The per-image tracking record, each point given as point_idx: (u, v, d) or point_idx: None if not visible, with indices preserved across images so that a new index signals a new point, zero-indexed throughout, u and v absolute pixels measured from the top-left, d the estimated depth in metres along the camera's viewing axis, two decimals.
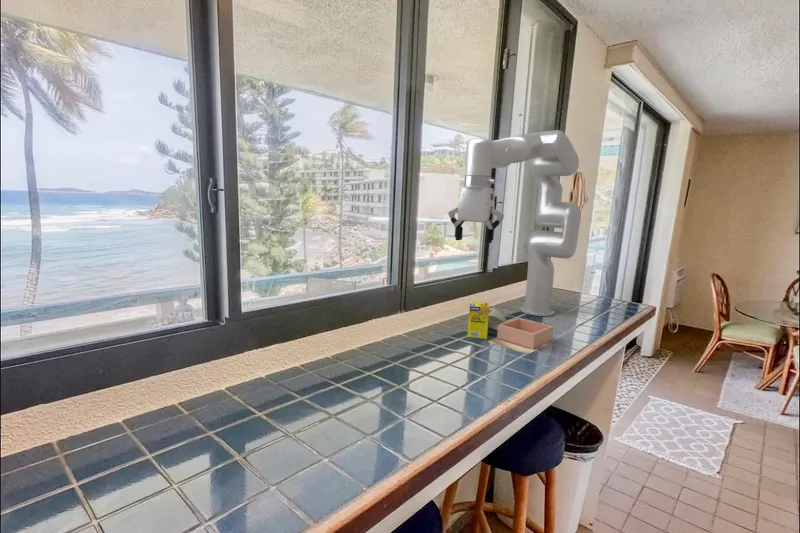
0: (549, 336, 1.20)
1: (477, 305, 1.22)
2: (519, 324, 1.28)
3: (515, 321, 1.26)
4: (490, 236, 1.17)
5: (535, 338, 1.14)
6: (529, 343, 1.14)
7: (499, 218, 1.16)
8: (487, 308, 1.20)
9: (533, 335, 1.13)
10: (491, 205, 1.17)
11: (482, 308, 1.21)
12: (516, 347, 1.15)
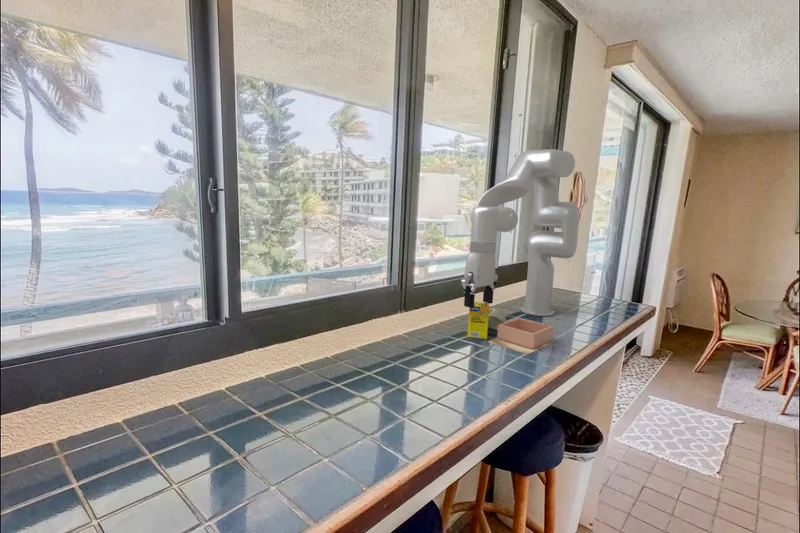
0: (549, 336, 1.20)
1: (477, 305, 1.22)
2: (519, 324, 1.28)
3: (515, 321, 1.26)
4: None
5: (535, 338, 1.14)
6: (529, 343, 1.14)
7: (496, 279, 1.27)
8: (487, 308, 1.20)
9: (533, 335, 1.13)
10: None
11: (482, 308, 1.21)
12: (516, 347, 1.15)
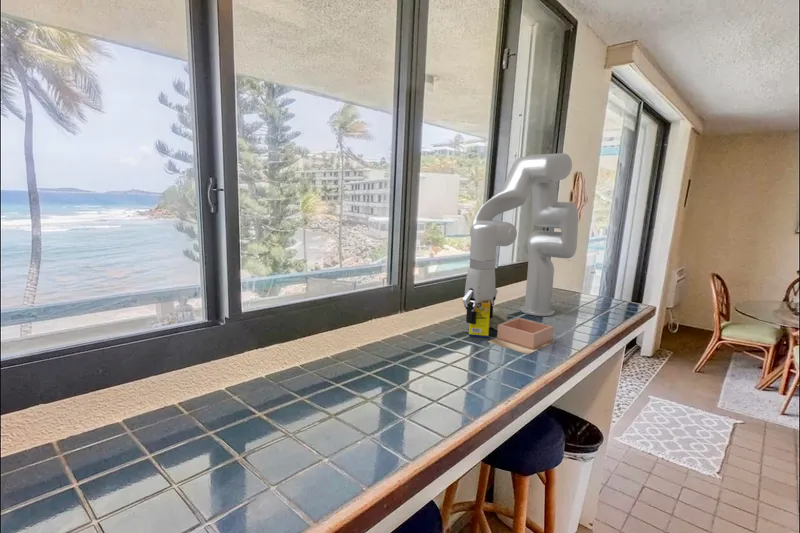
0: (549, 336, 1.20)
1: None
2: (519, 324, 1.28)
3: (515, 321, 1.26)
4: None
5: (535, 338, 1.14)
6: (529, 343, 1.14)
7: (495, 294, 1.28)
8: (488, 304, 1.21)
9: (533, 335, 1.13)
10: None
11: (483, 304, 1.21)
12: (516, 347, 1.15)
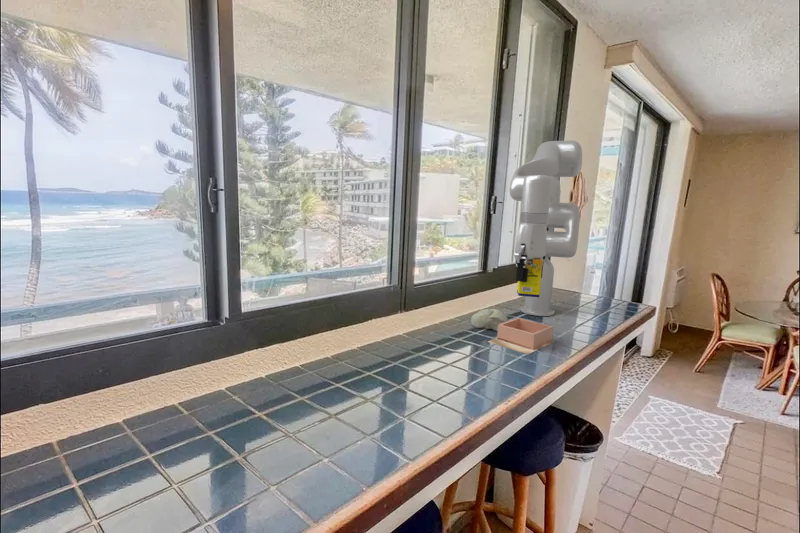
0: (549, 336, 1.20)
1: None
2: (519, 324, 1.28)
3: (515, 321, 1.26)
4: None
5: (535, 338, 1.14)
6: (529, 343, 1.14)
7: (545, 253, 1.22)
8: (540, 261, 1.14)
9: (533, 335, 1.13)
10: None
11: (535, 261, 1.15)
12: (516, 347, 1.15)
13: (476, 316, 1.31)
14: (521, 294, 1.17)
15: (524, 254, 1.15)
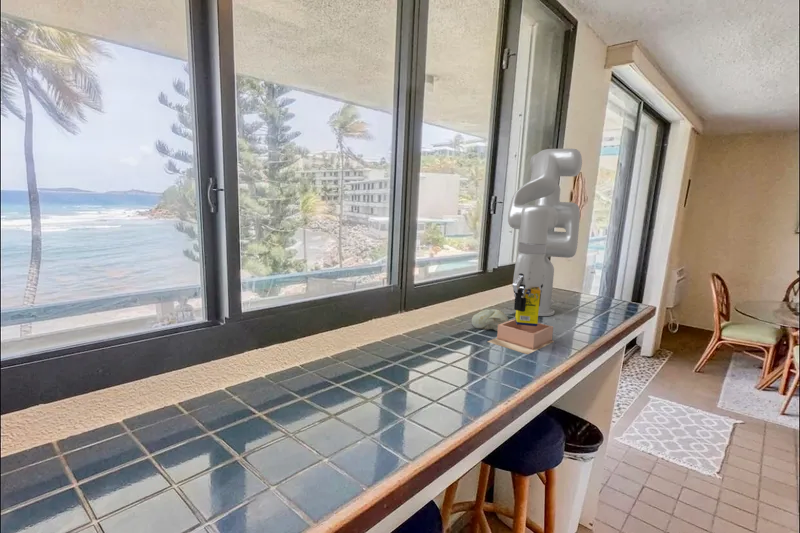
0: (549, 336, 1.20)
1: None
2: None
3: (515, 321, 1.26)
4: None
5: (535, 338, 1.14)
6: (529, 343, 1.14)
7: (542, 281, 1.23)
8: (538, 291, 1.16)
9: (533, 335, 1.13)
10: None
11: (533, 291, 1.16)
12: (516, 347, 1.15)
13: (477, 316, 1.30)
14: (519, 323, 1.18)
15: (522, 284, 1.17)
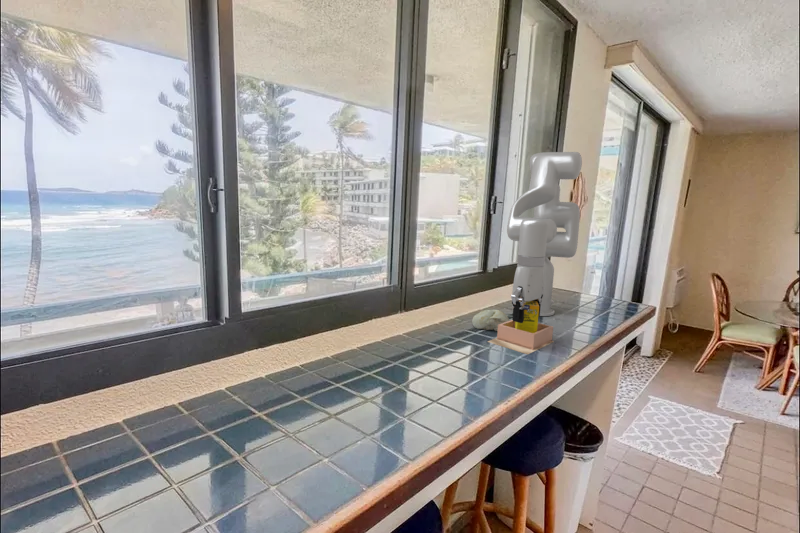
0: (549, 336, 1.20)
1: (526, 303, 1.18)
2: None
3: None
4: None
5: (535, 338, 1.14)
6: (529, 343, 1.14)
7: (542, 291, 1.24)
8: (537, 306, 1.17)
9: (533, 335, 1.13)
10: None
11: (532, 306, 1.17)
12: (516, 347, 1.15)
13: (478, 317, 1.30)
14: None
15: (521, 296, 1.17)
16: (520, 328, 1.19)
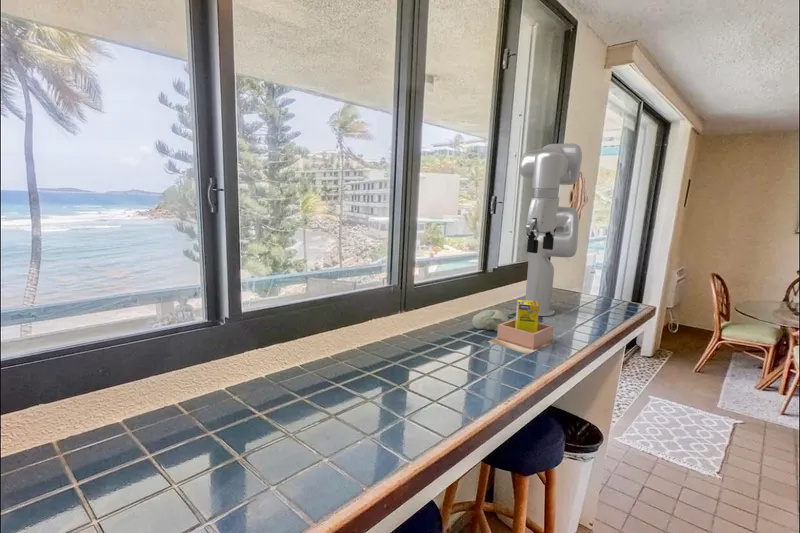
0: (549, 336, 1.20)
1: (526, 303, 1.18)
2: None
3: None
4: None
5: (535, 338, 1.14)
6: (529, 343, 1.14)
7: (555, 226, 1.29)
8: (537, 306, 1.17)
9: (533, 335, 1.13)
10: None
11: (532, 306, 1.17)
12: (516, 347, 1.15)
13: (477, 317, 1.30)
14: None
15: (535, 228, 1.22)
16: (520, 328, 1.19)
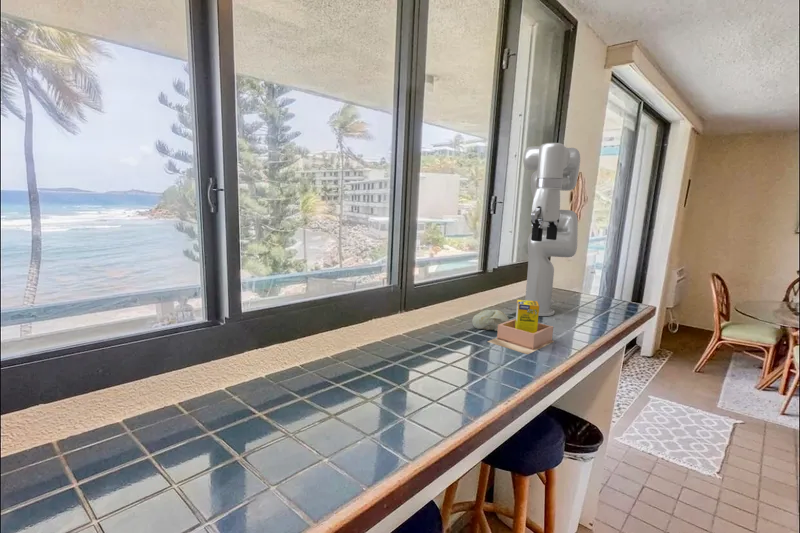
0: (549, 336, 1.20)
1: (526, 303, 1.18)
2: None
3: None
4: None
5: (535, 338, 1.14)
6: (529, 343, 1.14)
7: (559, 217, 1.32)
8: (537, 306, 1.17)
9: (533, 335, 1.13)
10: None
11: (532, 306, 1.17)
12: (516, 347, 1.15)
13: (477, 317, 1.30)
14: None
15: (540, 217, 1.25)
16: (520, 328, 1.19)
